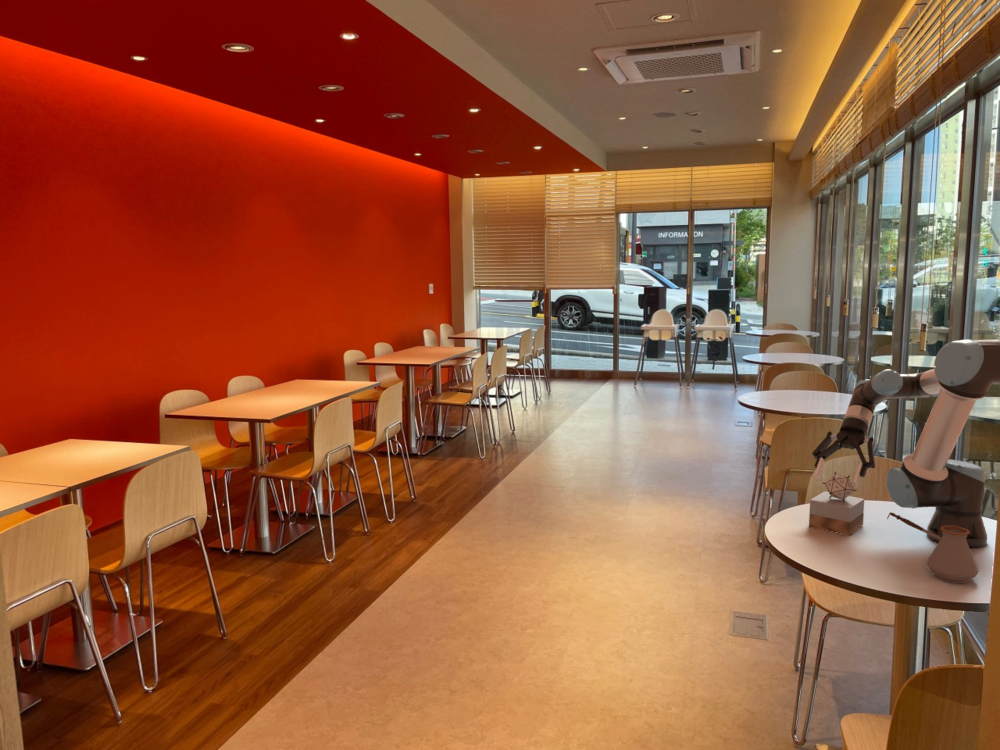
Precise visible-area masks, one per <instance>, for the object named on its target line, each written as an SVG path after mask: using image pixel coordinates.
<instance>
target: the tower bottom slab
mask: <svg viewBox="0 0 1000 750" xmlns="http://www.w3.org/2000/svg"><path fill="white" fill-rule="evenodd" d="M864 515H865V514H864V512H863V514H861V515H860V516H858V517H857V518H855V519H854V520H853V521H851V522H846V521H841V520H836V519H832V518H827V517H822V516H818V515H813V514H809V515H808V516H809V518H808V519H809V520H808V527H809V528H812V527H813V528H814V529H817V528H818V530H821V529H823V531H826V530H828V531H827V532H830V531H833V532H832V533H834V532H838V533H837V534H839V533H842V534H841V535H843V534H845V535H844V536H847V535H850V534H851V535H852V534H854V533H855V532H856V530H857V529H858V528H859V529H861V528H862V527H863V526H864ZM862 525H863V526H862ZM861 526H862V527H861ZM860 527H861V528H860ZM813 528H812V529H813ZM859 529H858V530H859ZM858 530H857V531H858ZM854 531H855V532H854ZM853 532H854V533H853ZM851 535H850V536H851Z"/></svg>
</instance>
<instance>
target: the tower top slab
mask: <svg viewBox="0 0 1000 750" xmlns="http://www.w3.org/2000/svg"><path fill="white" fill-rule="evenodd" d="M830 496H831V495H830V494H829V491H826V490H825V491H823V492H821V493H819V494H817V495H816V496H814V497H813V498H811V499H810V500H809V515H810V514H813V515H818V516H822V517H827V518H832V519H836V520H841V521H846V522H851V521H853V520H854V519H855V518H857V517H858V516H860V515H861V514H863V513H864V512H865V511H864V510H865V498H862V497H861V498H860V497H857V496H856V497H855V496H852V495H849V496H847V497H846V498H845V499H844V500H845V502H843V500H842V499H838V498H835V497H831V498H829V497H830Z"/></svg>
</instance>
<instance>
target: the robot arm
mask: <svg viewBox="0 0 1000 750" xmlns="http://www.w3.org/2000/svg"><path fill="white" fill-rule="evenodd" d="M933 366H934V367H935V368H932V369H929V370H926V371H922V372H919V373H899V372H898V371H896V370H893V369H890V368H888V369H884V370H882V371H880V372H878V373H876V374H875V375H874V376H873V377H871V378H870V379H860V380H859V381H858V382H857V383H856V385H855V387H854V389H853V391H852V396H851V398H850V400H849V404H848V405H847V406H848V407H847V409H846V412H845V415H844V418H843V419H842V422H841V424H840V425H841V426H840V429H839V431H838V432H836V433H833V432H832V431H828V432H827V433H826V436H825V438H824V439H823V440H822V441H821V442H820V443H819V444H818V445H817V447H816V448H815V449H814V450H813V451H812V457H813V458H814V459H815V463H814V467H815V472H814V474H813V475H814V477H815V479H816V480H820V477H821V475H822V471H823V469H824V466H825V465H826V462H825V460H826V459H827V458H829V457H831V456H832V455H833V454H834V453H836V452H837V451H838V450H839V451H840V450H842V449H850V450H856V453H857V455H858V457H859V459H860V462H861V463H859V464H858V467H857V470H856V472H855V476H854V479H853V481H852V482H853V485H854V487H855V488H856V487H857V488H858V487H859V484H860V482H861V481H860V480H861V479H862V478H864V477H865V476H866V474H867V470H868V469H875V468H876V461H875V452H874V451H875V449H874V448H875V443H876V442H875V439H874V437H873V436H869V437H866V436H867V434H868V433H867V432H868V430H869V427H870V424H871V422H872V418H873V415H874V413H875V410H876V407H877V406H878V405H880V404H881V403H883V402H885V401H886V400H888V399H910V398H911V399H913V398H915V399H916V398H925V399H929V398H935V397H936V399H935V401H934V403H933V406H932V408H931V410H930V413H929V415H928V418H927V419H926V422H925V425H924V427H923V428H922V429H923V430H922V432H921V434H920V436H919V439H918V441H917V443H916V444H915V447H914V450H913V452H912V453H911V454H907V455H906V456H904V458H903V460H902V462H901V465H900V466H899V467H897V466H895V467H893V468H891V469H889V470H888V472H887V473H886V479H885V481H886V483H885V484H886V488H887V493H888V494H889V497H890V499H892V501H893V503H895V504H896V505H897V506H898V507H900V508H905V509H906V508H907V509H917V508H934V507H935V509H934V513H933V515H932V517H931V519H930V521H929V523H928V525H927V527H926V530H927V531H929V532H931V533H934V534H936V535H938V536H940V537H942V536H943V533H942V530H941V529H940V528H941V527H942V526H958V527H962V528H965V529H967V530H968V531H969V532H970V533H969V534H968V535H967V537H966V541H967V543H968V546H969V547H978V548H982V547H981V546H983V547H985V546H987V545H988V534H987V531H986V526H985V524H984V520H983V504H984V495H985V484H986V479H985V478H986V472H985V470H984V468H983V467H981V466H980V465H977V464H975V463H970V462H967V461H964V460H963V461H962V460H957V459H950V457H951V455H952V453H953V450H955V447H956V444H957V443H958V439H959V438H960V436H961V433H962V432H963V430H964V427H965V425H966V422H967V420H968V418H969V417H970V414H971V412H972V410H973V408H974V406H975V404H976V402H977V400H981V399H984V398H985V397H986V395H987V394H988V392H989V390H990V387H991V386H992V385H1000V339H969V338H966V339H960V340H953V341H950V342H947V343H945V344H944V345H943V346H942V347H941V348H940V349H939V351H937V354H936V356H935V359H934V363H933ZM835 439H836V440H835ZM832 442H833V443H832ZM863 444H866V446H867V452H868V453H867V454H868V461H867V460H866V457H865V455H864V453H863V450H862V448H861V446H862V445H863ZM926 536H927V537H928V538H929V539H930V540H933V541H934V542H937V543H939V541H940V540H938V539H936V538H934V537H932V536H930V535H928V534H927V533H926Z"/></svg>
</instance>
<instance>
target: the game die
mask: <svg viewBox="0 0 1000 750" xmlns="http://www.w3.org/2000/svg"><path fill="white" fill-rule="evenodd" d="M850 477H851V475H848V476H845V475H841V474H837V472H836V471H834V475H833V476H831V477H830V478H829V479H828V480H827V481H826V482H822V485H825V487H826V489H827V492H829V494H830V495H831V496H830V497H829V498H831V497H835V498H838V499H842V500H843V502H845V500H844V499H845V498H846V497H847V496H851V494H852V493H854V492H858V490H857V489H855V488H854V487H853V484H852V482H851V481H850Z"/></svg>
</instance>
